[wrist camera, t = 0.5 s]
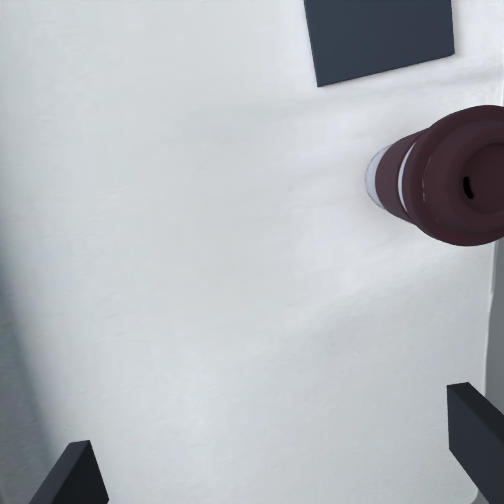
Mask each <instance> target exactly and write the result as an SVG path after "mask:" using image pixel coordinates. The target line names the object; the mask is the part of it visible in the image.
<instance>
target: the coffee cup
mask: <svg viewBox="0 0 504 504" xmlns="http://www.w3.org/2000/svg"><path fill="white" fill-rule="evenodd" d="M366 188H367V191H368V194H369V196H370V197H371V199H372V200H373V201H374V202H375V203H376V204H377V205H378V206H380V207H381V208H383V209H386V210H387V211H389V212H390V213H391V214H393V215H394V216H396V217H399V218H401V219H403V220H405V221H408V222H410V223H412V224H414V225H416V226H417V227H418V228H419V229H420V230H422V231H423V232H424V233H425V234H427V235H429V236H430V237H432V238H435V239H437V240H440V241H443V242H445V243H449V244H452V245H457V246H478V245H483V244H487V243H490V242H493V241H495V240H498V239H500V238H502V237H504V107H502V106H496V105H481V106H475V107H471V108H467V109H464V110H460V111H457V112H454V113H452V114H450V115H447V116H445V117H444V118H442V119H440V120H438V121H437V122H436V123H434V124H433V125H432V126H430V127H429V128H427V129H424V130H422V131H419V132H417V133H414V134H412V135H409V136H407V137H404V138H402V139H400V140H399V141H397V142H396V143H394V144H392V145H390V146H387V147H385V148H384V149H382V150H381V151H380V152H379V153H378V154H377V155H376V156H375V157H374V158H373V159H372V161H371V163H370V164H369V167H368V169H367V173H366Z"/></svg>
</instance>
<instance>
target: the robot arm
mask: <svg viewBox="0 0 504 504" xmlns="http://www.w3.org/2000/svg"><path fill="white" fill-rule="evenodd" d="M447 405H448V431H449V450H450V451H451V452H452V454H453V455H454V456H455V458H456V459H457V460H458V462H459V463H460V464H461V466H462V467H463V469H464V470H465V471H466V473H467V474H468V475H469V477H470V478H471V479H472V481H473V482H474V483H475V485H476V486H477V487H478V489H479V490H480V492H481V493H482V494H483V495H484V497H485V498H486V500H487V501H488V502H489V504H504V415H503V414H502V413H501V412H500V411H498V409H497V408H495V407H494V406H493V405H492V404H491V403H490V402H489V401H488V400H487V399H486V398H485V397H484V396H483V395H482V394H480V393H479V392H478V391H477V390H476V389H475V388H474V387H473V386H472V385H471V384H470V383H469V382H465V383H459V384H452V385H447ZM108 501H109V497H108V494H107V491H106V488H105V485H104V482H103V479H102V476H101V473H100V470H99V467H98V464H97V461H96V458H95V455H94V452H93V449H92V445H91V442H90V440H86V441H79V442H73V443H69V444H68V446H67V447H66V449H65V450H64V452H63V453H62V455H61V456H60V458H59V459H58V461H57V462H56V464H55V465H54V467H53V468H52V470H51V471H50V473H49V474H48V476H47V477H46V479H45V480H44V482H43V483H42V485H41V486H40V488H39V489H38V491H37V492H36V494H35V495H34V497H33V498H32V500H31V501H30V503H29V504H107V503H108Z"/></svg>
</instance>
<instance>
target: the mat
mask: <svg viewBox="0 0 504 504" xmlns="http://www.w3.org/2000/svg"><path fill="white" fill-rule="evenodd" d="M304 5H305V11H306V18H307V24H308V30H309V36H310V42H311V49H312V55H313V61H314V67H315V73H316V79H317V86H318V87H320V86H324V85H329V84H333V83H337V82H341V81H346V80H350V79H354V78H358V77H363V76H367V75H371V74H375V73H380V72H384V71H388V70H392V69H397V68H401V67H405V66H409V65H413V64H418V63H422V62H426V61H430V60H435V59H439V58H443V57H447V56H451V55H453V54H455V49H454V36H453V22H452V8H451V0H304Z"/></svg>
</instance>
